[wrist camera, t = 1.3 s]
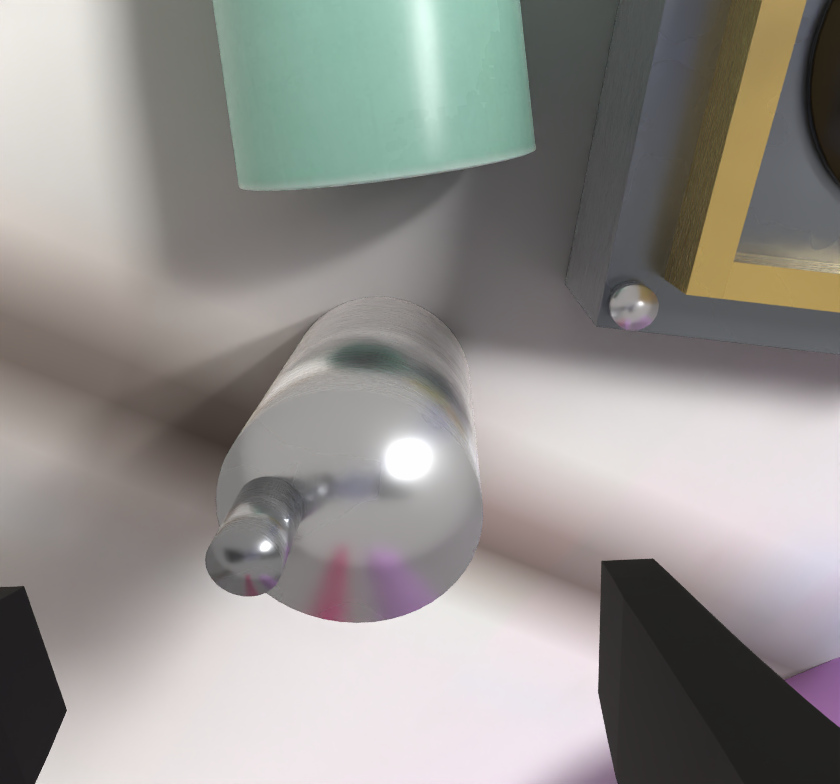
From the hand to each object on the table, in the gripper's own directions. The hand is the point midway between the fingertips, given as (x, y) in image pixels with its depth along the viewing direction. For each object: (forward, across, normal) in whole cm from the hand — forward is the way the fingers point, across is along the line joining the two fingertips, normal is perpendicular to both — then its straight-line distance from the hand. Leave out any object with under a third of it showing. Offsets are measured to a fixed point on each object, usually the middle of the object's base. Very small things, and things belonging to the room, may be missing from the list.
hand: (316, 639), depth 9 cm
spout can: (+9, 0, 0) cm, 9 cm away
